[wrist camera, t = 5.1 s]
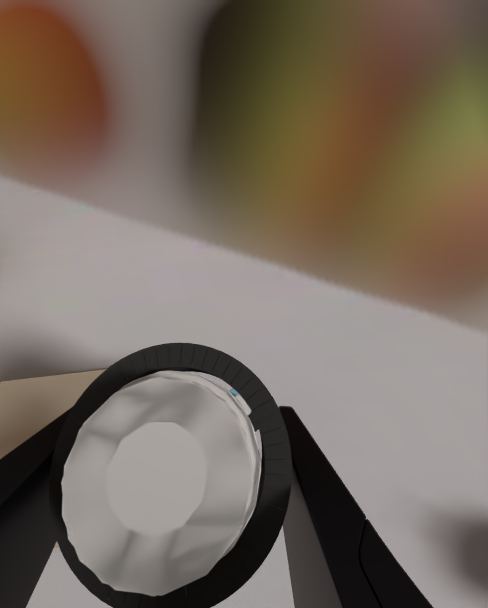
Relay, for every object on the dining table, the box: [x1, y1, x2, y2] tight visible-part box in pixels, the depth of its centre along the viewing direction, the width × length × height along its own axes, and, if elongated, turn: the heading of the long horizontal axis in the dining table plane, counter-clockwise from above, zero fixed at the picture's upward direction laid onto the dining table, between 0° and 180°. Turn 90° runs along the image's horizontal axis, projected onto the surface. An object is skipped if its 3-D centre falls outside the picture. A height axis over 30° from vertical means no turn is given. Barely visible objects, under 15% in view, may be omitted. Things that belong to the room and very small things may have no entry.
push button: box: [49, 343, 292, 608], centre depth 10 cm, size 7×5×10 cm
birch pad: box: [0, 369, 106, 547], centre depth 18 cm, size 10×10×1 cm
